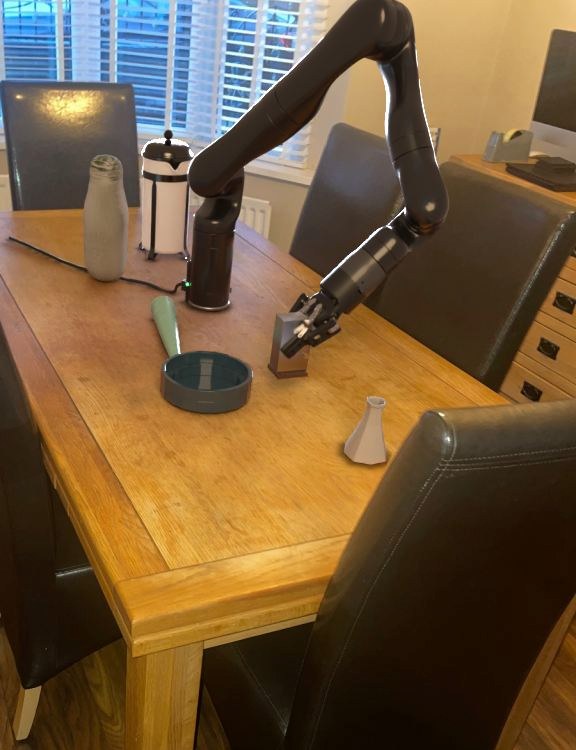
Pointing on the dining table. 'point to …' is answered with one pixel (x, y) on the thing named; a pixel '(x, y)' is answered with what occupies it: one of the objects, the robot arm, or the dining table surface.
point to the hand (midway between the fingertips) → (280, 350)
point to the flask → (368, 435)
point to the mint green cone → (166, 323)
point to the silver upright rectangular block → (283, 334)
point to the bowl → (206, 381)
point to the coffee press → (165, 196)
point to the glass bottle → (105, 220)
